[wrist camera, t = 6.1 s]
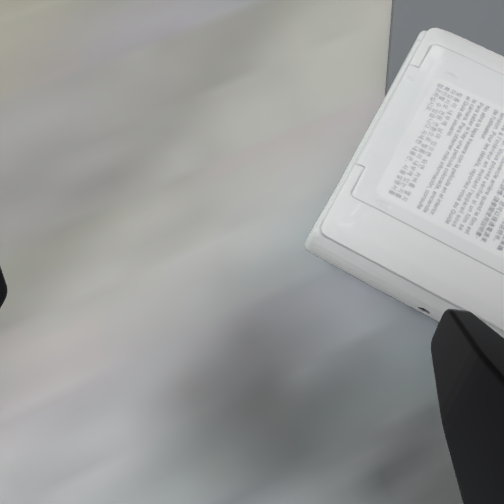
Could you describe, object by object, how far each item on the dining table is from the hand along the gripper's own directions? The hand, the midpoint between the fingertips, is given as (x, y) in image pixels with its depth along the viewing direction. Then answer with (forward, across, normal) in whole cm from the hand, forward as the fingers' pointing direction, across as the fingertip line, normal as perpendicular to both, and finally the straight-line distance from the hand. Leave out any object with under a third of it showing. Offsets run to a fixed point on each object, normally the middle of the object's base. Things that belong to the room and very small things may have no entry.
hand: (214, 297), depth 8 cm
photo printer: (+11, -4, 0) cm, 11 cm away
